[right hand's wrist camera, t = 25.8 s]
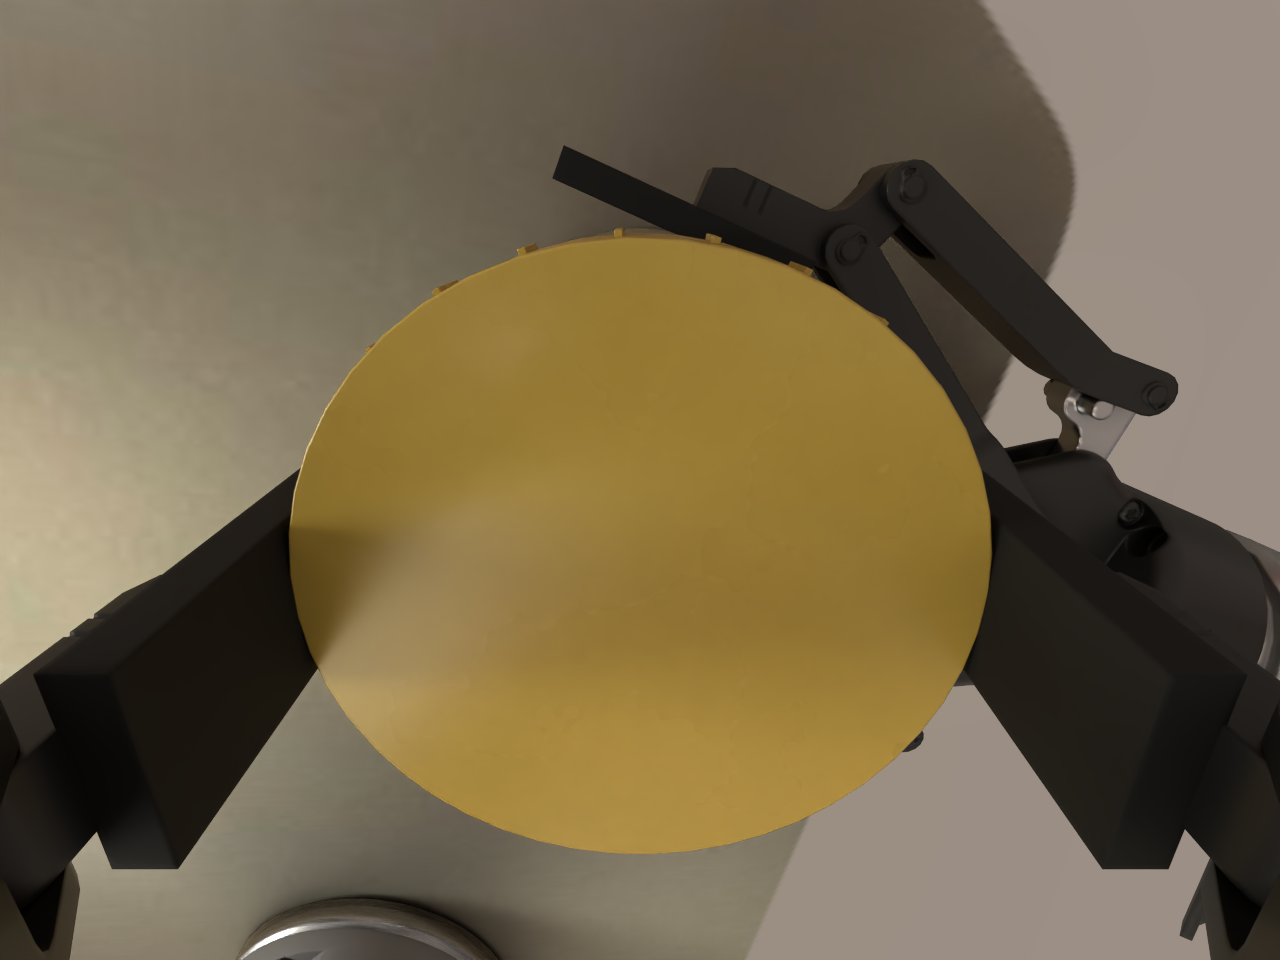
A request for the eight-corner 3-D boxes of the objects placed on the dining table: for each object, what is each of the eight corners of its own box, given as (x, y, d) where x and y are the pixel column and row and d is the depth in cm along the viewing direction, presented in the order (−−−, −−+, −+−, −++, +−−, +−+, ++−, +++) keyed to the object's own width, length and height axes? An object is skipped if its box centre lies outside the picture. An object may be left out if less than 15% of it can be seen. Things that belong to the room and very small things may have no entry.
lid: (898, 125, 9) (946, 108, 8) (984, 719, 13) (1027, 783, 12) (208, 350, 10) (138, 373, 9) (472, 836, 14) (452, 908, 13)
